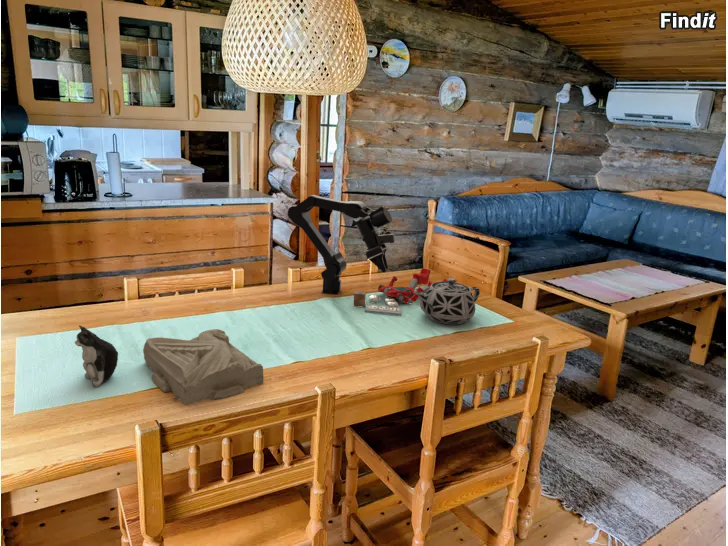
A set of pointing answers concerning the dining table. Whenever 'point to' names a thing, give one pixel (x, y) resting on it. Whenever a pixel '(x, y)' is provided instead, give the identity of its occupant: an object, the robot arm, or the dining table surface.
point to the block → (359, 298)
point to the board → (383, 309)
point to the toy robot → (408, 292)
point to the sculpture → (201, 367)
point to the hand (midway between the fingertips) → (385, 270)
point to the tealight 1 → (374, 298)
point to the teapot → (449, 302)
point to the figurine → (96, 356)
